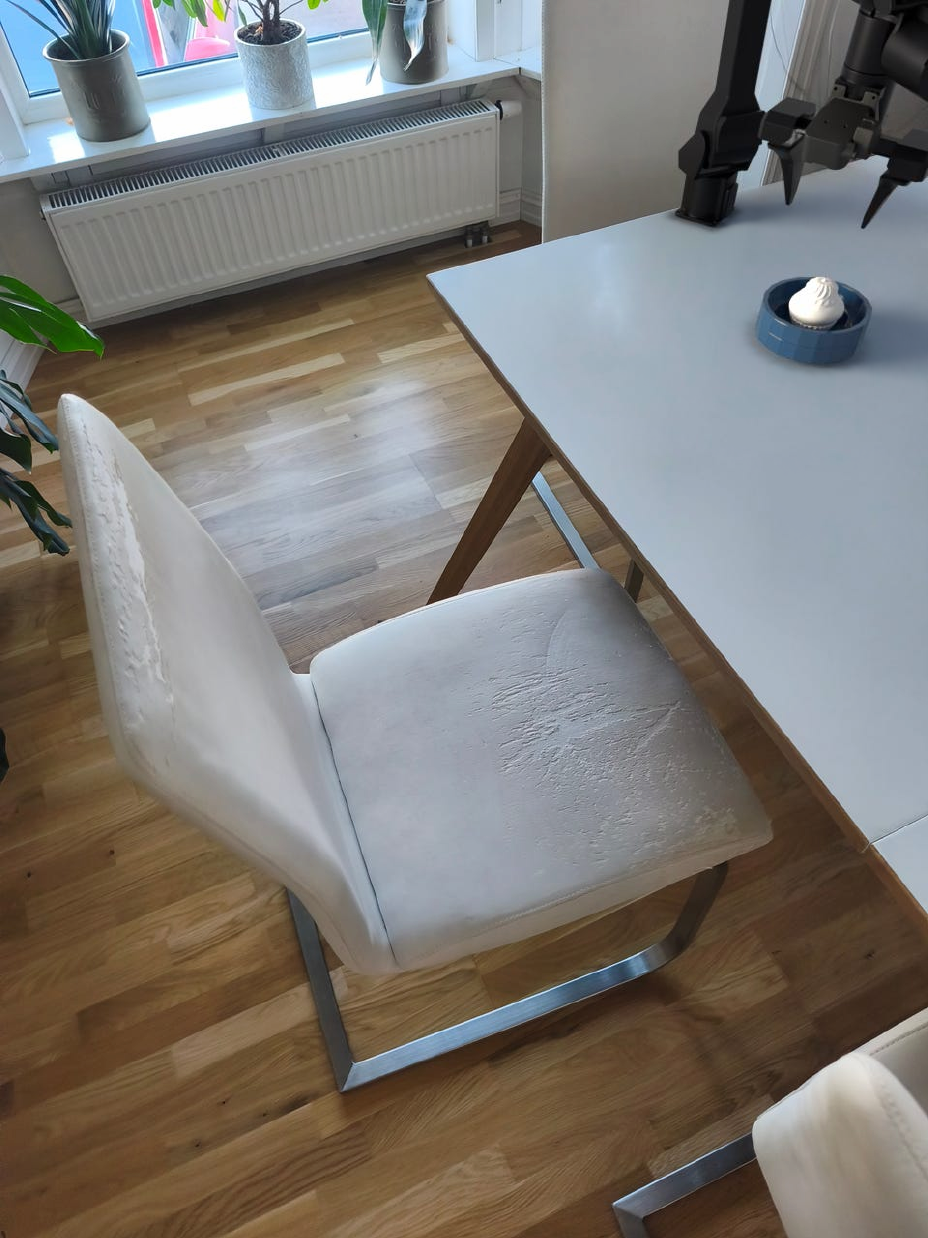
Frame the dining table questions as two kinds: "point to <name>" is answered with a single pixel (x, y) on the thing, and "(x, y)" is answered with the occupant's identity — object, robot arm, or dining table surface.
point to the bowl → (804, 342)
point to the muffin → (816, 305)
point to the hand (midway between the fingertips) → (825, 215)
